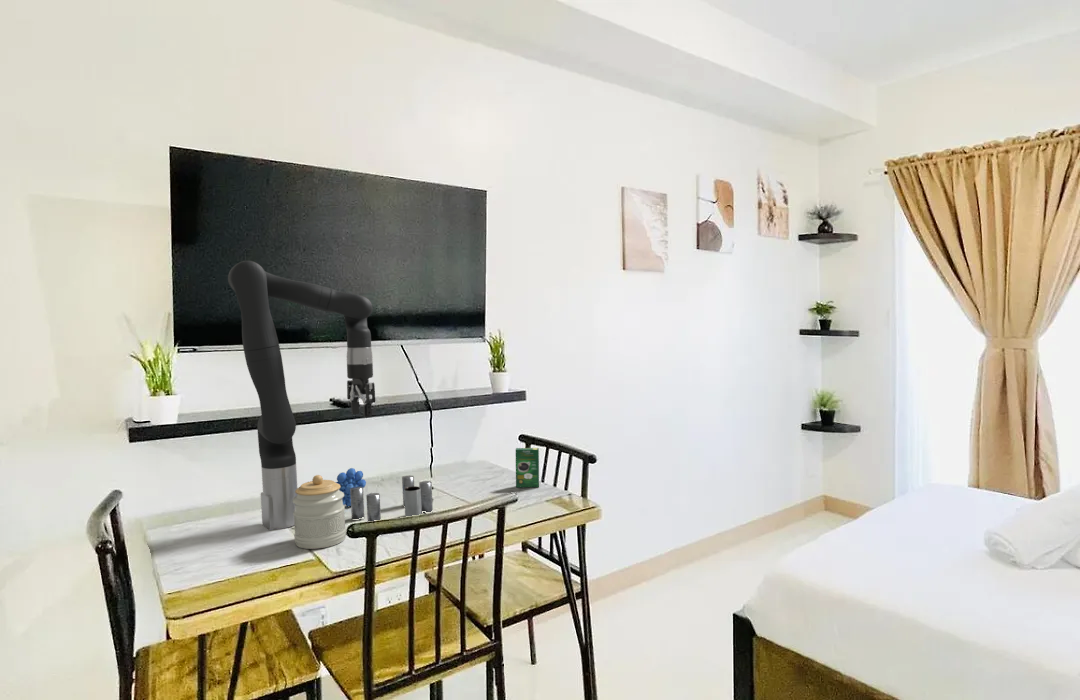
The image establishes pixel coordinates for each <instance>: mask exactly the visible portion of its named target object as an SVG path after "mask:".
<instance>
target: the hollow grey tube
mask: <svg viewBox="0 0 1080 700" xmlns="http://www.w3.org/2000/svg"><path fill="white" fill-rule="evenodd" d="M404 501H405V507H404V517H405V516H412V515H419V514H422V511H421V489H420V487H419V486H417V485H416V486H415V485H414V486H412V487H407V488H405V489H404ZM422 515H423V514H422Z"/></svg>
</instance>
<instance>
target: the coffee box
mask: <svg viewBox="0 0 1080 700" xmlns="http://www.w3.org/2000/svg"><path fill="white" fill-rule="evenodd" d="M539 449H540V448H539V447H516V448H515V488H520V489H521V488H522V489H523V488H533V489H534V488H540V450H539Z"/></svg>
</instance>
